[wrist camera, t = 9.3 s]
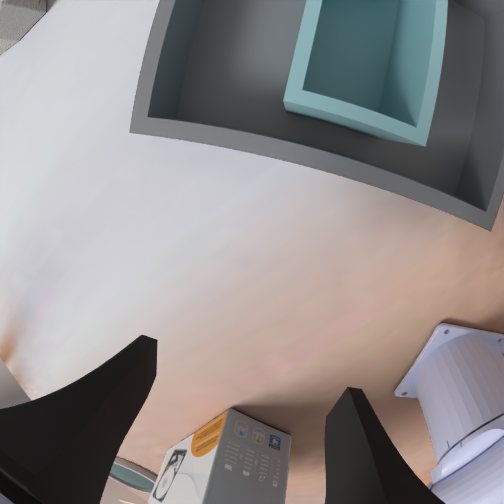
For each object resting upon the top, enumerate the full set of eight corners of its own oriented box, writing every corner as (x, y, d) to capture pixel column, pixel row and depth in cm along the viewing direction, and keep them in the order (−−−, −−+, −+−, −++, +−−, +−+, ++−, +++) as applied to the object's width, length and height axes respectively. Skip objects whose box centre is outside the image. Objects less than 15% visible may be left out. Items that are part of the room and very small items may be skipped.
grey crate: (486, 20, 10) (523, 6, 6) (452, 207, 15) (490, 231, 11) (219, -61, 10) (201, -97, 6) (167, 129, 16) (129, 132, 12)
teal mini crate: (404, 0, 10) (447, -43, 5) (378, 138, 14) (425, 146, 8) (318, -27, 10) (327, -86, 5) (285, 112, 14) (283, 100, 9)
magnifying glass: (265, 509, 39) (264, 517, 37) (110, 472, 42) (106, 479, 40) (273, 487, 34) (272, 498, 32) (87, 441, 36) (82, 449, 35)
